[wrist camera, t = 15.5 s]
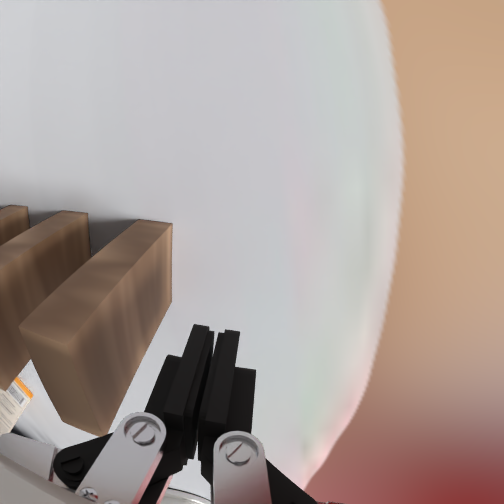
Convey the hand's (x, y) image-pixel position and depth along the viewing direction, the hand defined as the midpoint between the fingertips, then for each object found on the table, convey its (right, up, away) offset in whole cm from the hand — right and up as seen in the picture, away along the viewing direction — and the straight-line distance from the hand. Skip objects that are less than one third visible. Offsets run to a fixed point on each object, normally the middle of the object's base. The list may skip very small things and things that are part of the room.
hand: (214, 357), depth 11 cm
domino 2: (-10, +4, +6) cm, 12 cm away
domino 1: (-4, +3, +6) cm, 8 cm away
